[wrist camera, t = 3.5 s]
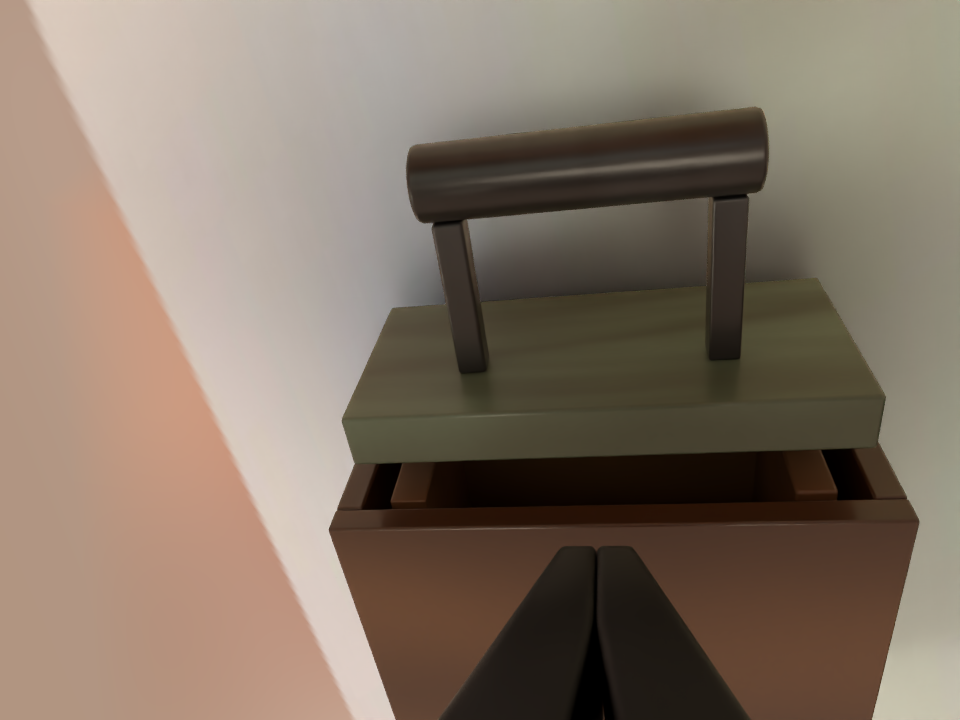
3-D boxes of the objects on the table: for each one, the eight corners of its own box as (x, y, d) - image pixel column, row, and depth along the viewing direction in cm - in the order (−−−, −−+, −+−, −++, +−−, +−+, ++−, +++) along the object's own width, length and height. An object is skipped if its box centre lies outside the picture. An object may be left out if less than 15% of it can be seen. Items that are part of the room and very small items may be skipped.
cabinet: (393, 363, 20) (327, 529, 15) (826, 339, 18) (922, 521, 13) (466, 661, 27) (438, 843, 22) (785, 666, 25) (837, 868, 20)
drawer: (345, 115, 16) (269, 191, 12) (843, 55, 14) (939, 121, 10) (466, 625, 25) (445, 761, 21) (778, 628, 23) (816, 777, 19)
